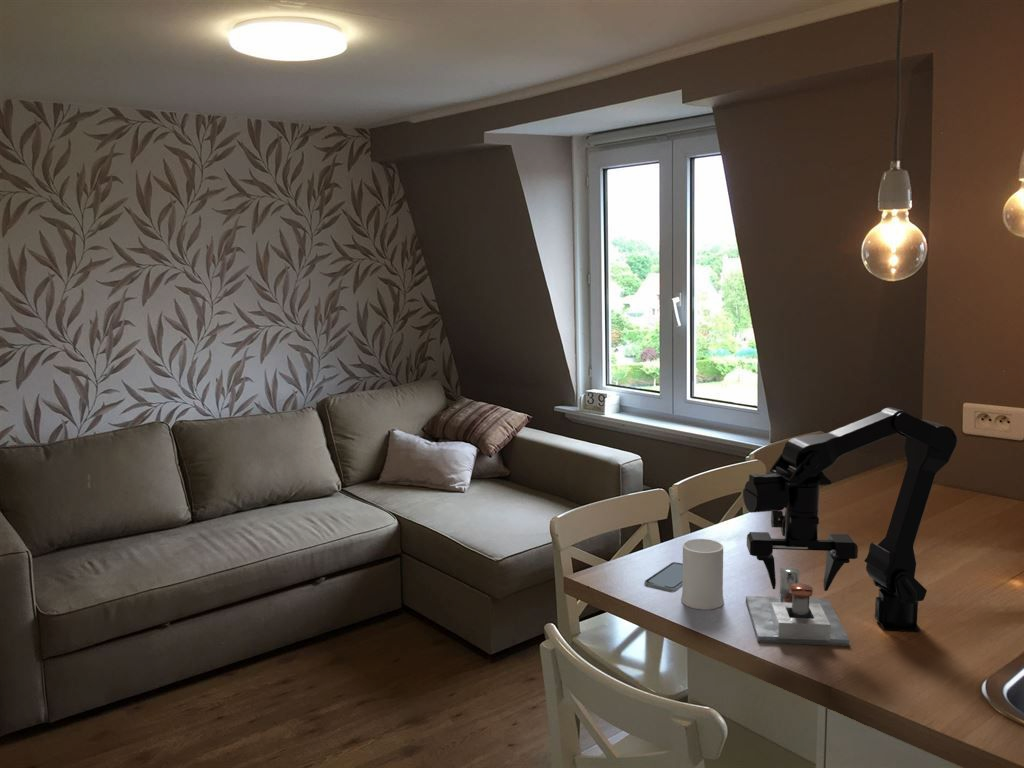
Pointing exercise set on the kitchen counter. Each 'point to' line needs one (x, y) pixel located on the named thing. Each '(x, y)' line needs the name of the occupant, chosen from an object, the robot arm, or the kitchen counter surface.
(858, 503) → the kitchen counter surface
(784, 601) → the socket base
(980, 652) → the kitchen counter surface
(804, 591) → the copper-capped peg
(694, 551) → the mug
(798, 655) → the kitchen counter surface
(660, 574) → the smartphone
